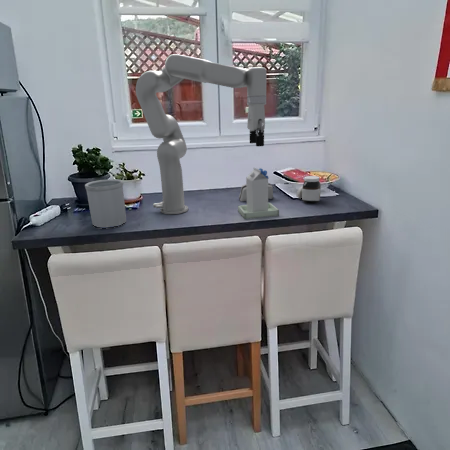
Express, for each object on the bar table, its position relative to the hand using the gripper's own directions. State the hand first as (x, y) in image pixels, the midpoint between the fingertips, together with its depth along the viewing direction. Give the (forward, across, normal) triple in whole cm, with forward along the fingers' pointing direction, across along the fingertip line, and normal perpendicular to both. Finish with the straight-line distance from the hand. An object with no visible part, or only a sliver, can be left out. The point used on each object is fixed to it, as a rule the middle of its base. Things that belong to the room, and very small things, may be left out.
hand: (256, 144), depth 161 cm
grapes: (+30, -39, +12) cm, 50 cm away
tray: (+30, 0, +1) cm, 30 cm away
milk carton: (+29, 0, 0) cm, 29 cm away
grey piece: (+30, -22, +6) cm, 38 cm away
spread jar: (+30, -12, +29) cm, 43 cm away
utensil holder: (+31, -6, -62) cm, 70 cm away
